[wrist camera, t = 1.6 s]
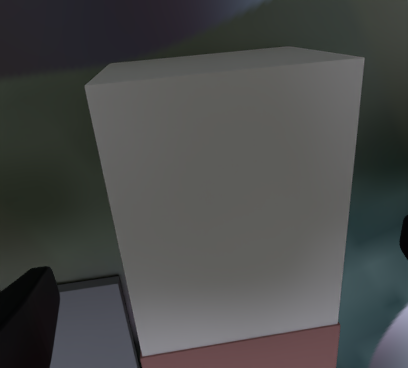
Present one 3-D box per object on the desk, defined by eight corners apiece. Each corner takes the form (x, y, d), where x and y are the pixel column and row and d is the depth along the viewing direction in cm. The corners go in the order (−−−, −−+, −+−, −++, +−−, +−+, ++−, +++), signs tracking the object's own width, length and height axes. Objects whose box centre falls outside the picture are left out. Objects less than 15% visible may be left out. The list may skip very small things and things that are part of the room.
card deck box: (289, 45, 10) (368, 57, 6) (284, 292, 14) (333, 390, 10) (108, 63, 10) (80, 86, 6) (154, 313, 13) (154, 423, 10)
